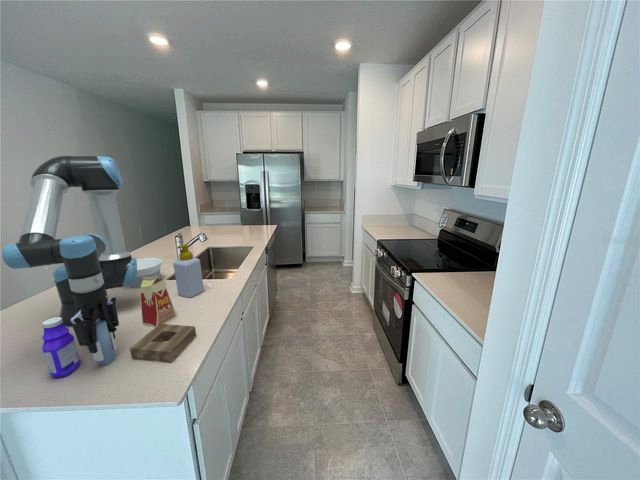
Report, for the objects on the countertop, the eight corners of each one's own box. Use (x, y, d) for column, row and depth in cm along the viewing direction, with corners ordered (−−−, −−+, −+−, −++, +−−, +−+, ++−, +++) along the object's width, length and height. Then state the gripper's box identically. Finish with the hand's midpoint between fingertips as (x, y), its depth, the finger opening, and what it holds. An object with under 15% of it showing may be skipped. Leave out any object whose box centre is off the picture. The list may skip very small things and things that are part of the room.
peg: (96, 365, 84) (85, 326, 80) (107, 356, 88) (97, 319, 84) (107, 366, 83) (97, 327, 80) (118, 357, 87) (109, 320, 83)
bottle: (66, 362, 85) (52, 314, 80) (85, 361, 85) (72, 313, 81) (46, 379, 78) (28, 328, 73) (66, 378, 78) (50, 327, 74)
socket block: (132, 358, 87) (129, 348, 86) (161, 333, 100) (159, 323, 99) (171, 362, 85) (169, 351, 84) (196, 335, 98) (195, 326, 97)
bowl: (171, 280, 147) (168, 261, 144) (133, 293, 131) (128, 273, 128) (153, 272, 157) (150, 255, 154) (115, 284, 141) (111, 265, 138)
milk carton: (177, 316, 111) (170, 272, 106) (157, 328, 103) (148, 281, 97) (160, 312, 114) (153, 269, 109) (140, 324, 106) (131, 277, 100)
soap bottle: (176, 295, 129) (169, 246, 122) (191, 287, 137) (185, 241, 130) (190, 298, 126) (183, 248, 119) (205, 290, 134) (199, 243, 127)
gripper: (70, 302, 70) (91, 375, 76) (123, 277, 86) (137, 338, 93) (45, 301, 71) (68, 373, 77) (103, 275, 87) (117, 337, 93)
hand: (105, 354), depth 85 cm, fingers closed on peg, 4 cm apart
